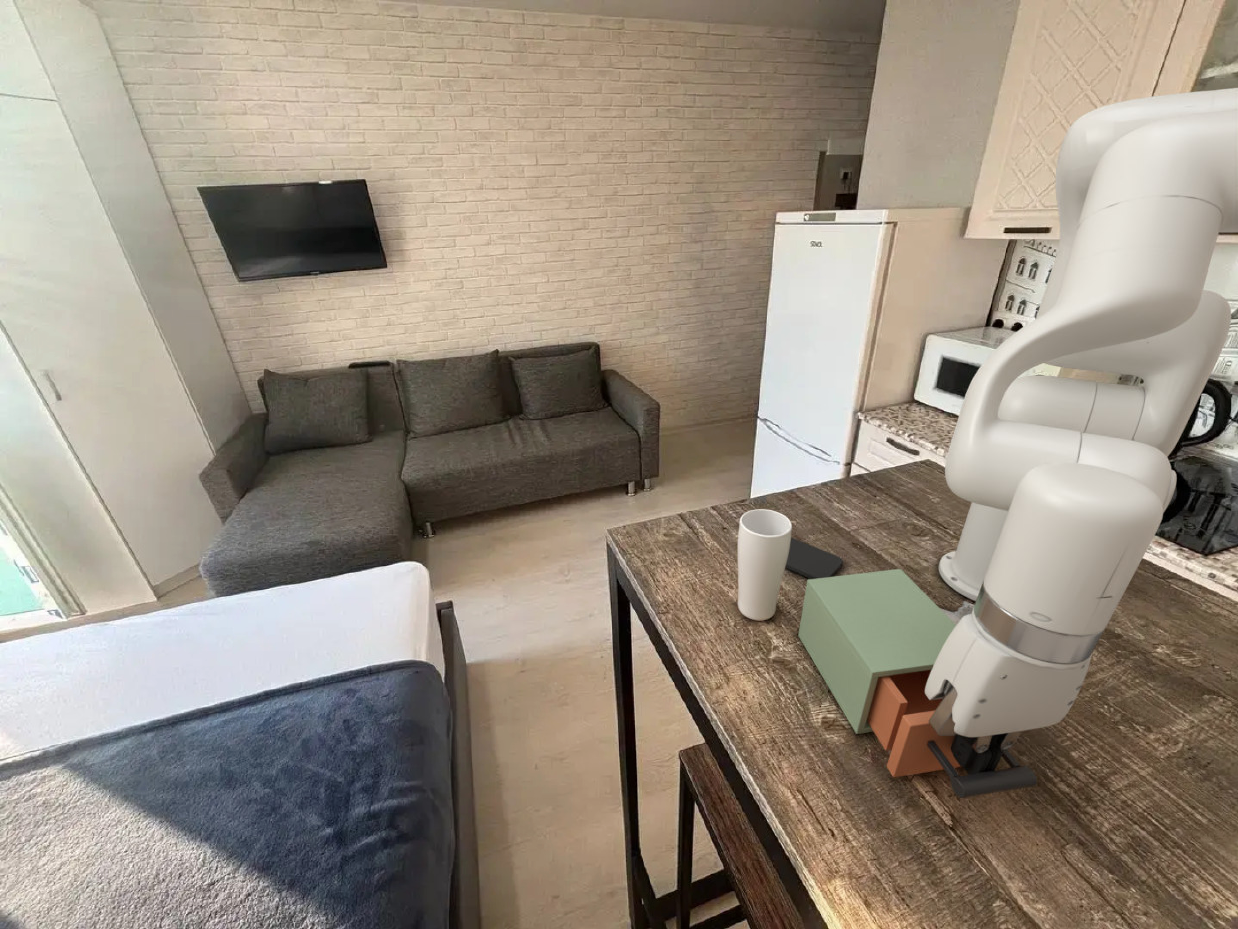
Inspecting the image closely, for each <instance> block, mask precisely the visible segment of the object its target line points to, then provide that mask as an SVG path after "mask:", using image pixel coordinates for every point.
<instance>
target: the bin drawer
mask: <svg viewBox="0 0 1238 929" xmlns="http://www.w3.org/2000/svg"><path fill="white" fill-rule="evenodd" d="M930 673H931V670H925V671H918V672H911V673H903V674H896V675H889V676H882V677H878V680H877V684H876V687H875V691H874V695H873V698H872V702H871V706H870V709H869V713H868V717H867V722H868V723H869V725H870V726H871V728H872V730H873V731H874V732H873V733H874V735H875V736H876V738H877V739H878V741H879V743H880V745H881V746H882V748H883V749H884V750H885V751H886V752H887V751H890V753H889V754H890V755H889V758H888V761H887V762H886V763H887V764H886V768H887V770H888V771H889V773H890V775H891V776H892V778H899V777H904V776H910V775H917V774H924V773H930V772H936V771H943V770H944V771H945V773H946V774H947V775H948V777H949V778H950V786H951V789H952V791H953V793H954V794H955V795H956V796H957V797H958V798H959V799H966V798H972V797H973V798H974V797H978V796H985V795H991V794H997V793H1002V792H1008V791H1016V790H1021V789H1027V788H1032V787H1036V786H1038V785H1037V784H1038V779H1037V775H1036V774H1035V772H1034V771H1033V770H1032V769H1031V768H1030V767H1029V766H1027V765H1021V764H1020V763H1019V761H1017V759H1016V758H1015V757H1014V756H1013V754H1012V753H1011V752H1010V750H1008V749H1001V750H1002V751H1003V755H1002V757H1001V759H1003V760H1004V762H1005V763H1006V764H1007V765H1008V766H1009V767H1007V768H999V769H995V770H994V771H987V772H981V773H975V774H969V775H968V774H963V775H960V774H959V772H957V770H956V768H961V767H962V766H960V765H959V764H958V762H957V761H956V759H955V758H954V756H953V753H952V751H951V746H952V743H953V741H954V738H955V736H956V735H955V736H939V735H938V734H937V733H936V732H935V730H934V729H933V728H932V726H931V725H930V724H929V719H930V718H931V716H932V715H933V713H934V712H935V710H936V709H937V707H938V706H939V704H940V703H941V701H942V700H943V699H936V700H929V699H928V697H927V696H926V694H925V687H926V684H927V681H928V678H929V675H930ZM962 768H963V767H962Z"/></svg>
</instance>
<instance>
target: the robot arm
mask: <svg viewBox="0 0 1238 929" xmlns="http://www.w3.org/2000/svg"><path fill="white" fill-rule="evenodd" d="M1054 183H1055V197H1056V206H1057V213H1058V220H1059V241H1058V242H1059V243H1058V247H1057V252H1056V255H1055V259H1054V262H1053V264H1052V268H1051V270H1050V271H1051V272H1050V274H1049V277H1048V279H1047V280H1048V281H1047V283H1046V285H1045V286H1046V287H1045V289H1044V293H1043V296H1042V298H1041V302H1040V305H1039V309H1038V311H1037V314H1036V318H1035V319H1034V320H1032V321H1030V322H1028V323H1027V324H1026V325H1024V326H1023V327H1021V328H1019V330H1017V331H1016V332H1014V333H1013V334H1012V335H1010V336H1009V337H1008V338H1006V339H1005V340H1004V341H1003V342H1002V343H1000V344H999V345H998V346H997V347H996V348H995V349H994V350H993V351H992V352H991V353H990V354H989V356H988V357H987V358H986V359H985V360H984V362H983V363H982V364H981V365H980V367H979V368H978V369H977V370H976V373H975V374H974V376H973V377H972V380H971V381H970V383H969V385H968V388H967V390H966V393H965V395H964V398H963V401H962V404H961V409H960V412H959V413H958V414H959V415H958V418H957V421H956V424H955V428H954V431H953V435H952V437H951V440H950V443H949V447H948V451H947V455H946V459H945V466H944V478H945V481H946V482H945V483H946V484H947V486H948V489H950V491H951V492H952V493H953V494H954V495H955V496H957V497H958V498H960V499H962V500H964V501H967V502H970V507H969V510H968V513H967V516H966V518H965V522H964V525H963V527H962V532H961V534H960V537H959V541H958V544H957V547H956V550H954V551H953V550H952V551H950V552H948V553H946V554H944V555H943V556H942V557H941V558H940V559H939V564H938V572H939V576H940V577H941V578H942V580H943V581H944V583H946V584H947V585H948V586H949V587H950V588H952V590H954V591H955V592H957V593H958V594H960V595H962V596H963V597H966V598H967V599H970V600H972V601H974V602H975V603H974V604H973V605H974V608H973V611H972V614H969V615H965V616H963V618H962V619H961V620H960V621H959V623H958V624H957V625H956V626H955V628H954V629H953V631H952V632H951V634H950V635H949V637H948V638H947V640H946V642H945V644H944V645H943V647H942V649H941V651H940V653H939V655H938V657H937V659H936V661H935V664H934V666H933V668H932V670H931V673H930V675H929V678H928V681H927V684H926V687H925V694H926V696H927V697H928V699H929V700H936V699H943V700H942V701H941V703H940V704H939V706H938V707H937V709H936V710H935V712H934V713H933V715H932V716H931V718H930V719H929V724H930V725H931V726H932V728H933V729H934V730H935V732H936V733H937V734H938V735H939V736H955V735H956V736H955V738H954V741H953V743H952V746H951V751H952V753H953V756H954V758H955V759H956V761H957V762H958V764H959V765H960V766H962V768H963V770H964V772H966V775H969V774H975V773H981V772H987V771H994V770H997V768H998V765H999V763H1000V761H1001V759H1002V755H1003V751H1002V750H1001V749H1007V750H1008V749H1010V748H1012V747H1013V746H1014V745H1015V743H1016V742H1017V741H1018V739H1019V737H1020V736H1021V734H1022V733H1023V731H1029V730H1035V729H1041V728H1046V727H1047V728H1048V727H1050V726H1053V725H1056V724H1059V723H1060V722H1061V721H1063V720H1064V719H1065V717H1066V716H1067V714H1068V713H1069V711H1071V710H1070V709H1071V708H1072V707H1073V705H1074V703H1075V701H1076V699H1077V697H1078V695H1079V693H1080V691H1081V688H1082V686H1083V685H1084V681H1085V678H1086V676H1087V673H1088V671H1089V668H1090V664H1091V661H1092V656H1093V653H1094V651H1095V649H1096V647H1097V645H1098V643H1099V641H1100V639H1101V637H1102V635H1103V633H1104V632H1105V630H1106V628H1107V626H1108V624H1109V622H1110V621H1111V619H1112V617H1113V615H1114V613H1115V611H1116V610H1117V607H1118V605H1119V603H1120V601H1121V600H1122V598H1123V596H1124V594H1125V592H1126V590H1127V588H1128V586H1129V585H1130V582H1131V581H1132V579H1133V577H1134V575H1135V573H1136V571H1137V569H1138V568H1139V566H1140V564H1141V561H1142V560H1143V558H1144V556H1145V555H1146V552H1147V551H1148V548H1149V547H1150V545H1151V543H1152V541H1153V539H1154V537H1155V536H1156V533H1157V532H1158V530H1159V528H1160V525H1161V523H1162V520H1163V516H1164V513H1165V512H1166V510H1167V508H1168V506H1169V505H1170V503H1171V501H1172V500H1173V499H1172V498H1173V495H1174V493H1175V490H1176V487H1177V479H1178V478H1177V473H1176V471H1175V470H1173V469H1172V465H1171V463H1170V460H1169V458H1168V457H1169V456H1170V455H1171V453H1172V452H1173V450H1174V449H1175V447H1176V445H1177V443H1178V442H1179V440H1180V438H1181V436H1182V434H1183V433H1184V430H1185V428H1186V426H1187V424H1188V421H1189V420H1190V417H1191V415H1192V414H1193V412H1194V410H1195V408H1196V406H1197V404H1198V402H1199V399H1200V396H1201V395H1202V393H1203V391H1204V389H1205V386H1206V384H1207V382H1208V381H1209V379H1210V376H1211V374H1212V372H1213V370H1214V368H1215V366H1216V364H1217V362H1218V361H1219V358H1220V356H1221V353H1222V351H1223V348H1224V346H1225V345H1226V344H1225V343H1226V341H1227V338H1228V336H1229V332H1230V328H1231V324H1232V309H1231V306H1230V303H1229V302H1228V300H1227V299H1226V298H1225V297H1224V296H1223V295H1222V294H1219V293H1217V292H1215V291H1212V290H1206V289H1204V287H1205V284H1206V281H1207V280H1206V279H1207V276H1208V272H1209V268H1210V266H1211V260H1212V258H1213V254H1214V251H1215V247H1216V243H1217V240H1218V238H1219V234H1220V233H1238V87H1231V88H1223V89H1215V90H1213V89H1211V90H1201V91H1190V92H1180V93H1171V94H1162V95H1155V96H1147V97H1140V98H1134V99H1129V100H1124V101H1119V102H1114V103H1111V104H1107V105H1103V106H1101V107H1100V106H1099V107H1098V108H1095V109H1093V110H1090V111H1088V112H1087V113H1085V114H1083V115H1081V116H1080V117H1079V118H1077V119H1076V120H1075V121H1074V122H1073V123H1072V124H1071V125H1070V127H1069V128H1068V130H1067V131H1066V133H1065V135H1064V137H1063V139H1062V142H1061V144H1060V147H1059V151H1058V157H1057V160H1056V169H1055V182H1054ZM1042 364H1045V365H1048V366H1051V367H1052V366H1053V367H1058V368H1063V369H1064V368H1065V369H1072V370H1081V371H1089V372H1097V373H1107V374H1116V375H1126V376H1135V377H1138V378H1140V379H1142V380H1143V383H1142V385H1141V386H1138V385H1131V384H1129V385H1128V384H1122V383H1121V384H1120V383H1112V382H1104V381H1096V380H1092V379H1091V380H1090V379H1083V378H1075V377H1074V378H1073V377H1064V376H1055V375H1027V376H1022V375H1023V374H1024V373H1026V372H1028V371H1029V370H1031V369H1033V368H1035V367H1038V366H1040V365H1042ZM1020 376H1021V377H1020Z"/></svg>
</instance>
